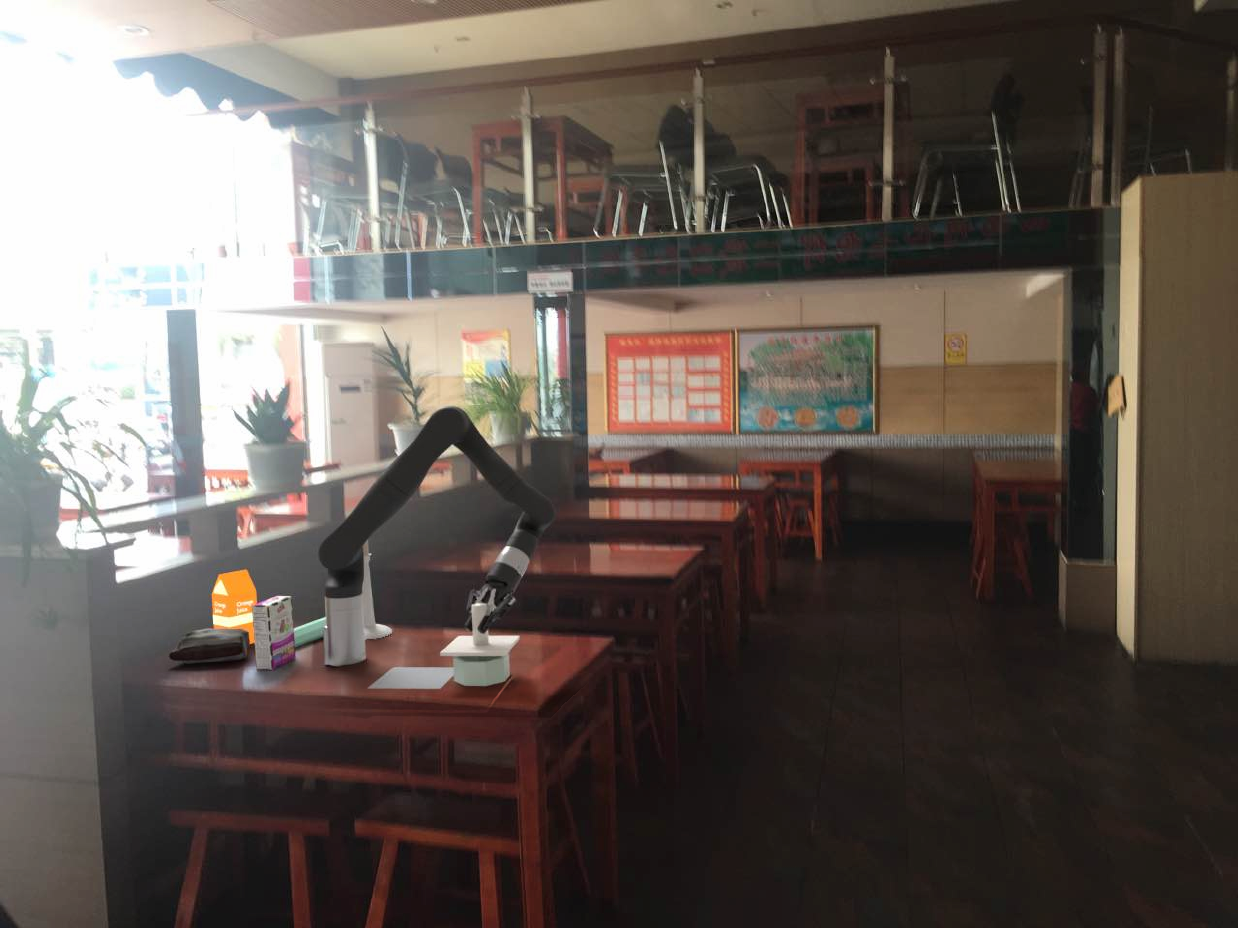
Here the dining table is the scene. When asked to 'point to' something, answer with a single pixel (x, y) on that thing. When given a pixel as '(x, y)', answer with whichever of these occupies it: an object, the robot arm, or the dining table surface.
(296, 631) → the container
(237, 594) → the orange juice
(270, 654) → the candy bar box
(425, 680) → the mat
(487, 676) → the bowl
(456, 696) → the dining table surface
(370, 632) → the candlestick
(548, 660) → the dining table surface
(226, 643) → the dark pillow-shaped pouch
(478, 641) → the cover
